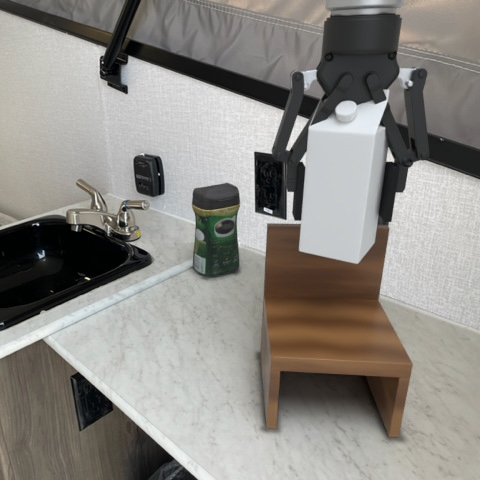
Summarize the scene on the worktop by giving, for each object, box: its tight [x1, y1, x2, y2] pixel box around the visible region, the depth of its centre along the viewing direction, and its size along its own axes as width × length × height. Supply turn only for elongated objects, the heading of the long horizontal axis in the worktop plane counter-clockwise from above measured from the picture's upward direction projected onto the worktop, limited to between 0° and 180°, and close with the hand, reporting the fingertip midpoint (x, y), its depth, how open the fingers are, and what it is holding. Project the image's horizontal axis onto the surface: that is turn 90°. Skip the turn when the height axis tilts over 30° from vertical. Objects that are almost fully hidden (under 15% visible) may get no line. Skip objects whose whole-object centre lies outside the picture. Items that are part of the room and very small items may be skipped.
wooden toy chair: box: [259, 222, 414, 438], centre depth 65 cm, size 16×16×22 cm
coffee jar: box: [191, 182, 241, 278], centre depth 103 cm, size 10×8×19 cm
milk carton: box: [299, 88, 391, 264], centre depth 58 cm, size 7×7×19 cm
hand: (340, 217), depth 60 cm, fingers closed on milk carton, 9 cm apart
